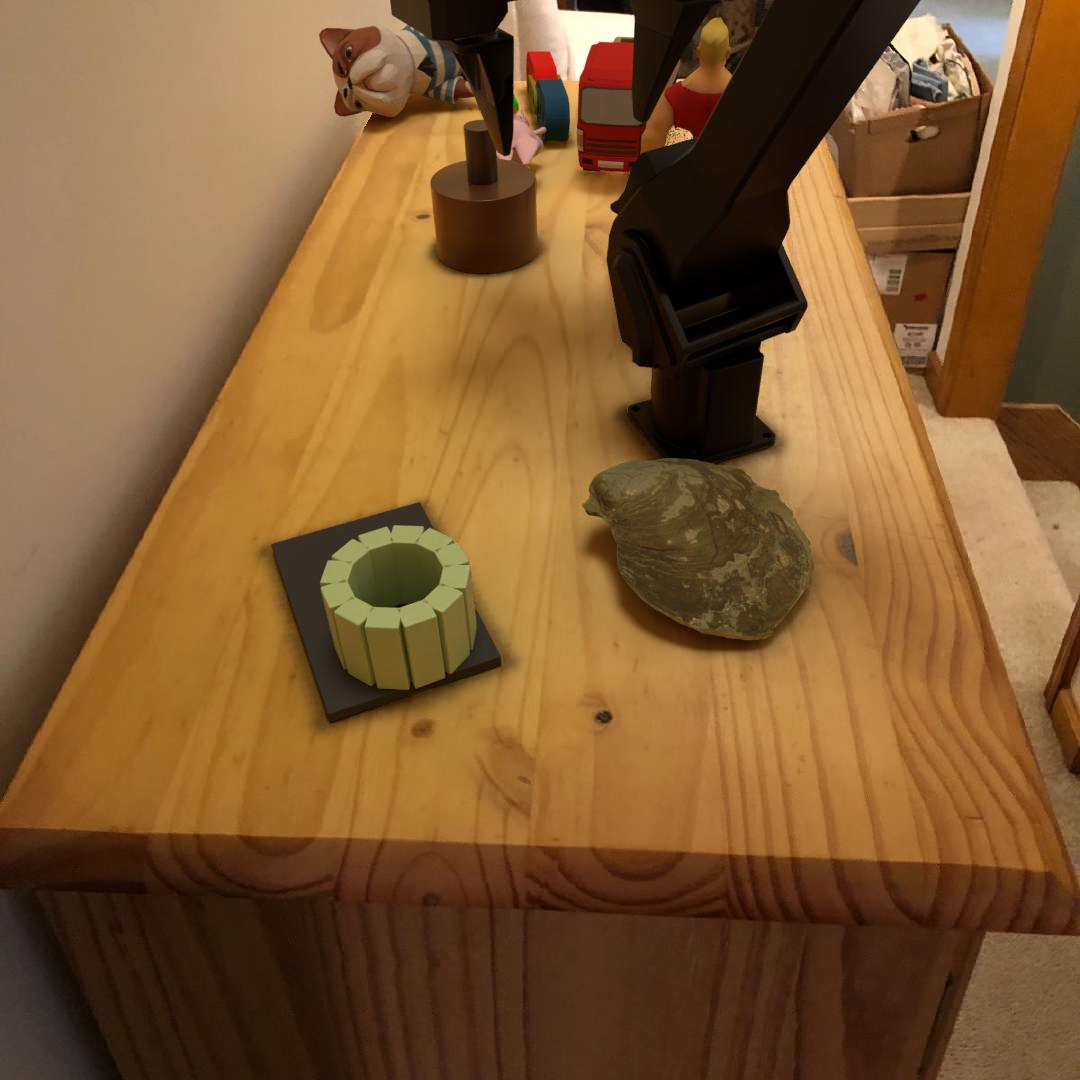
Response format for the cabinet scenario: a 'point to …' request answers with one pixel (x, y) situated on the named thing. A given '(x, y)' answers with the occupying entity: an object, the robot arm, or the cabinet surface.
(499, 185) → the stand
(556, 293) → the cabinet surface
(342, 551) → the ring
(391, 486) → the cabinet surface
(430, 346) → the cabinet surface
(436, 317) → the cabinet surface
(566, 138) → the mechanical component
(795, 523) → the seashell
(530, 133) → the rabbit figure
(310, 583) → the pad
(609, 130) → the toy truck
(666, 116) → the action figure
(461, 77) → the figurine
